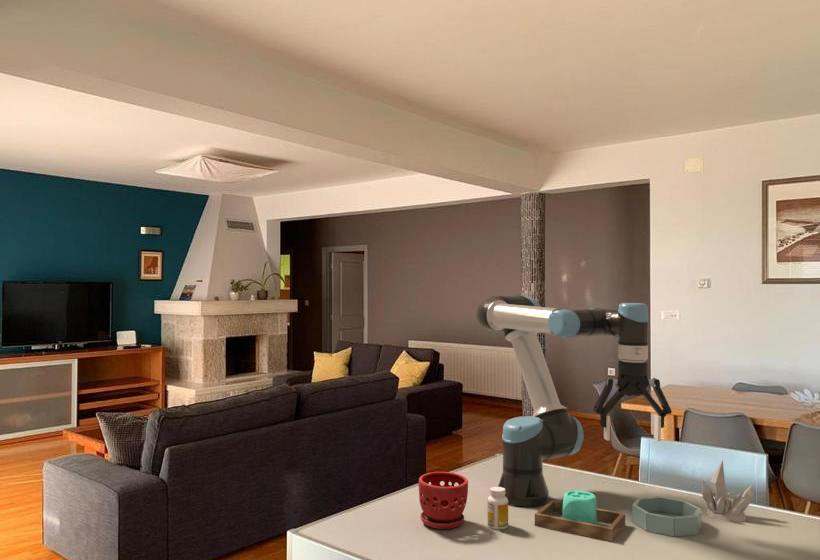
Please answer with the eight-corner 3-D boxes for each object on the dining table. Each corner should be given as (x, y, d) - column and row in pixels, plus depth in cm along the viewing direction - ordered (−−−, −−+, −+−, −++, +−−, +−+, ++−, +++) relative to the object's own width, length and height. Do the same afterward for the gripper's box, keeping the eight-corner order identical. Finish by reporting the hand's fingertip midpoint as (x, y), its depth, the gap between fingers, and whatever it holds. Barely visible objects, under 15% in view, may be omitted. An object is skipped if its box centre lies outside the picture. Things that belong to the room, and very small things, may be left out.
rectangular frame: (534, 525, 165) (534, 513, 165) (552, 510, 176) (551, 500, 176) (612, 541, 155) (611, 529, 155) (625, 525, 166) (625, 513, 166)
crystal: (761, 523, 167) (760, 466, 167) (707, 520, 169) (707, 464, 169) (747, 510, 176) (747, 456, 177) (697, 508, 179) (697, 454, 179)
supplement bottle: (510, 523, 167) (509, 486, 167) (506, 531, 162) (506, 493, 162) (489, 521, 168) (489, 484, 169) (485, 528, 163) (485, 490, 164)
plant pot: (411, 529, 163) (411, 482, 163) (427, 512, 175) (427, 469, 176) (460, 535, 159) (460, 488, 159) (473, 518, 171) (473, 473, 171)
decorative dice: (594, 532, 160) (594, 501, 160) (562, 529, 163) (562, 497, 163) (596, 522, 168) (596, 491, 168) (566, 518, 171) (565, 488, 171)
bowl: (627, 527, 164) (627, 510, 164) (641, 509, 177) (641, 493, 177) (694, 540, 155) (694, 522, 155) (704, 520, 169) (703, 503, 169)
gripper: (590, 361, 165) (589, 442, 165) (685, 362, 165) (684, 443, 165) (582, 358, 173) (581, 435, 173) (673, 359, 173) (672, 436, 173)
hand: (631, 439), depth 169 cm, fingers open, 13 cm apart
